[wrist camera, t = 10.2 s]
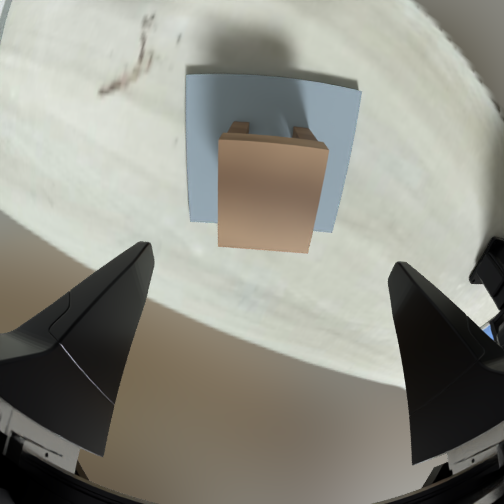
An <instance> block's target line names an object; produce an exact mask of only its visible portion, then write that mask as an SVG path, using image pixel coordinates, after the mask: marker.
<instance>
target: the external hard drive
mask: <svg viewBox="0 0 504 504" xmlns="http://www.w3.org/2000/svg"><path fill="white" fill-rule="evenodd" d="M11 2H12V0H0V43H1V38H2V34H3V29H4V25H5V22H6V18H7V15H8V11H9V8H10V5H11Z"/></svg>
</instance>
